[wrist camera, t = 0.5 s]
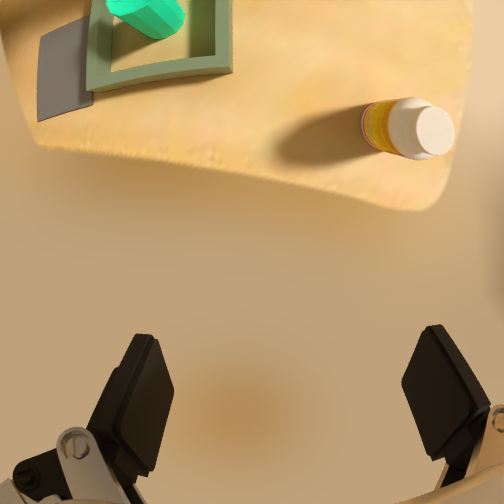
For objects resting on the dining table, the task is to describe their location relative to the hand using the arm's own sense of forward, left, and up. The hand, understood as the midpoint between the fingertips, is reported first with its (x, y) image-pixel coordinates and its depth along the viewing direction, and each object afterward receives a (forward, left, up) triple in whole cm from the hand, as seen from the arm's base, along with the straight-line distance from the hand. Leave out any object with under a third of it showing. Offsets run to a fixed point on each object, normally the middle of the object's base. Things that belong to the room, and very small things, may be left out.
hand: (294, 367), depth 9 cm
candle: (-24, -14, -30) cm, 40 cm away
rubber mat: (-21, -30, -29) cm, 46 cm away
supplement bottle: (-9, +14, -30) cm, 34 cm away
